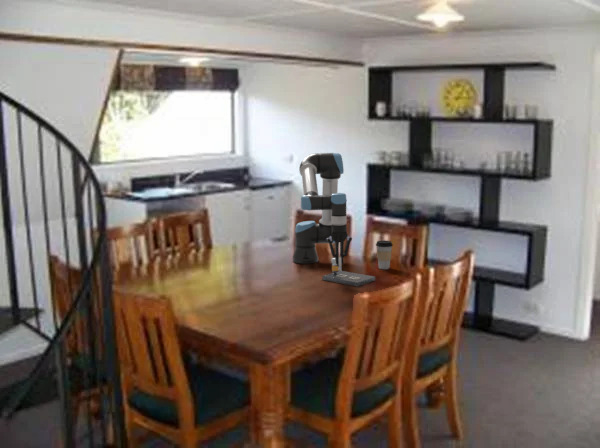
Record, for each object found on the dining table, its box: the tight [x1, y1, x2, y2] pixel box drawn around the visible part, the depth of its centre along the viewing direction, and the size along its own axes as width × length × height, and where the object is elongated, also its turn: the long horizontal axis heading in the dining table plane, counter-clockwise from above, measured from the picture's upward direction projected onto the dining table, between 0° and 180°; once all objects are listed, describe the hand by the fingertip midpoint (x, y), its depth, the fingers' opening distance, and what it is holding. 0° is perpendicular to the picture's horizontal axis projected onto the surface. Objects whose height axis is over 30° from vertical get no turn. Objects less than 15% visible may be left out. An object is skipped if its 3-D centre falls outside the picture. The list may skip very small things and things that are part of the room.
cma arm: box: [330, 257, 339, 272], centre depth 338 cm, size 22×4×2 cm, turn 177°
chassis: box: [322, 270, 376, 287], centre depth 342 cm, size 22×16×8 cm
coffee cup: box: [375, 240, 394, 270], centre depth 369 cm, size 9×9×15 cm
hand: (339, 270), depth 335 cm, fingers closed
